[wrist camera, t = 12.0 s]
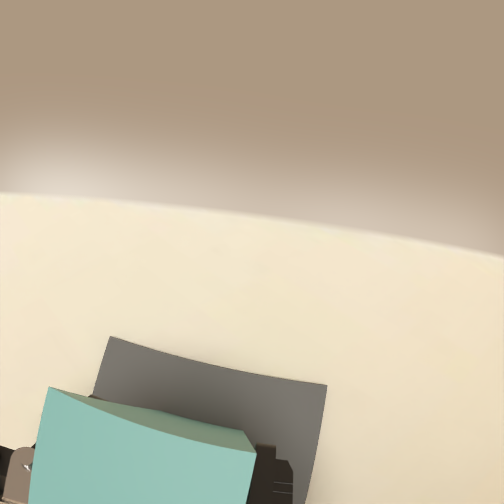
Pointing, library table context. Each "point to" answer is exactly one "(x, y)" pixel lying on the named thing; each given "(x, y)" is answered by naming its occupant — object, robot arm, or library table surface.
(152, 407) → the charcoal mat
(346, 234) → the library table surface
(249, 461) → the teal rectangular block
